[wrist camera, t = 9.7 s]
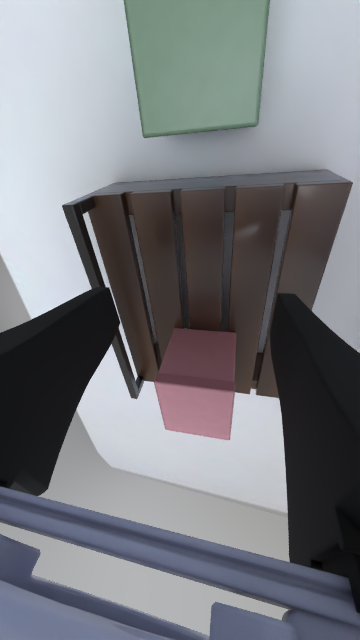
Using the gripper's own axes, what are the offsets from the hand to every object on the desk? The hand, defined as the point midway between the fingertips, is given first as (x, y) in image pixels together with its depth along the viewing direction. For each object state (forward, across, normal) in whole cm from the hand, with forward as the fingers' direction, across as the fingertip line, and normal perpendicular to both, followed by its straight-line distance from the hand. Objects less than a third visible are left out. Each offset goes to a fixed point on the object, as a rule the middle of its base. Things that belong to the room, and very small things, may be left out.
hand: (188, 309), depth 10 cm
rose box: (+5, 0, +8) cm, 9 cm away
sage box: (+9, 0, -9) cm, 12 cm away
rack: (+9, 0, +4) cm, 10 cm away
